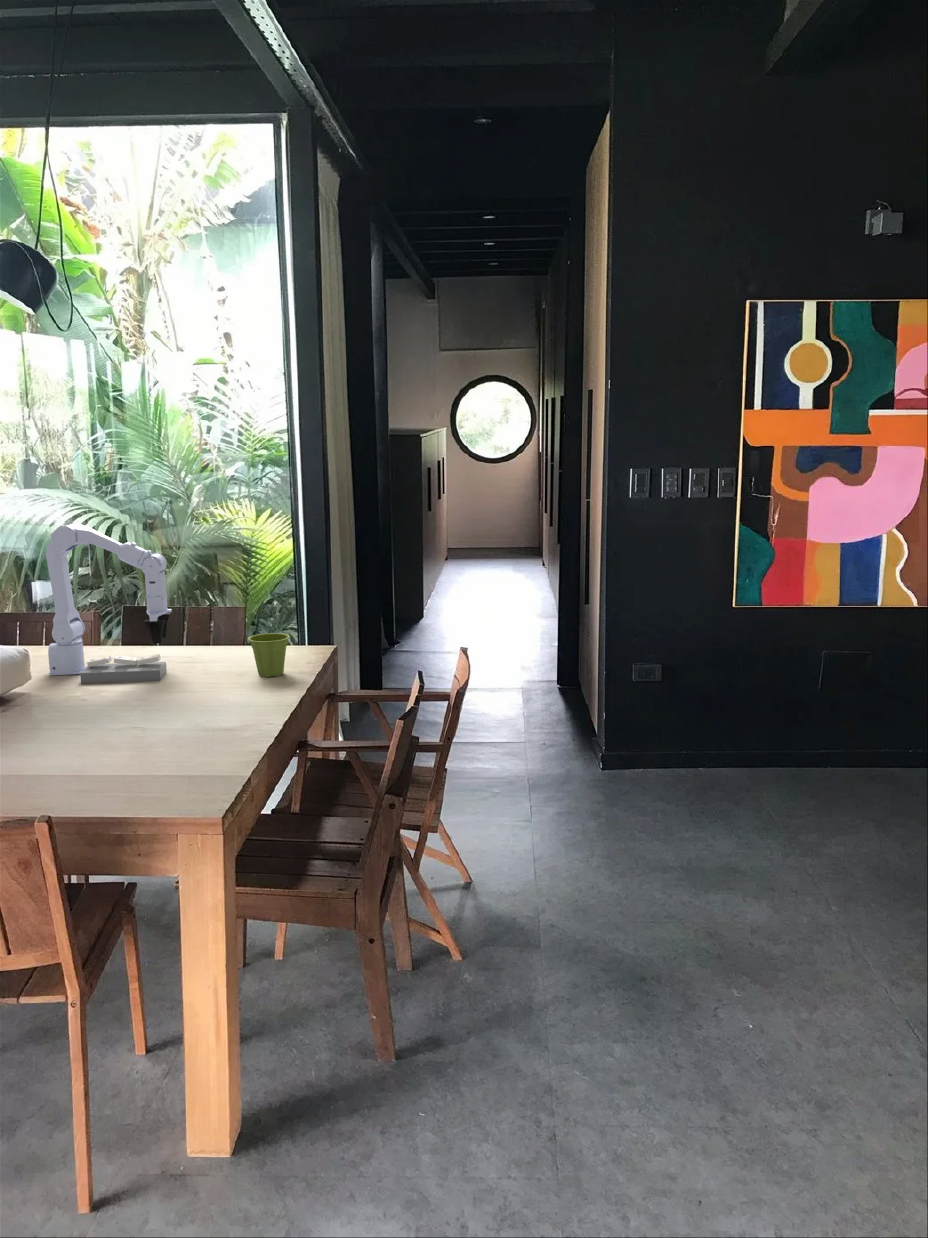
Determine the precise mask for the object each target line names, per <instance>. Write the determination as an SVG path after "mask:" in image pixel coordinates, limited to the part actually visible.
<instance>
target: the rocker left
mask: <svg viewBox="0 0 928 1238" xmlns="http://www.w3.org/2000/svg"><path fill="white" fill-rule="evenodd" d="M111 662H112V657H111V655H106V656H102V657H97V658H90V659H88V660H87V662H86V664H87V665H86V666H88V667H91V666H96V665H101V664H110V663H111Z"/></svg>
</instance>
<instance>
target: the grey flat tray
mask: <svg viewBox="0 0 928 1238" xmlns="http://www.w3.org/2000/svg"><path fill="white" fill-rule="evenodd" d="M86 666H87V667H86V668H85V669H84V670H83V671H82V672H81V673H80V674H79V675H80V683H81V684H96V683H97V684H98V683H122V682H123V683H124V682H127V683H128V682H142V681H143V682H148V681H151V682H152V681H154V682H155V681H162V679H163V678H164V676H165V675H166V674H167V672H168V671H167V661H158V662H152V663H147V664H142V665H138V663H137V664H136V665H128V664H119V663H107V664H101V665H96V666H91V667H88V665H86Z"/></svg>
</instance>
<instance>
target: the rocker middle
mask: <svg viewBox="0 0 928 1238" xmlns="http://www.w3.org/2000/svg"><path fill="white" fill-rule="evenodd" d="M138 659H139V658H138V657H135V656H134V657H133V656H127V655H125V656H124V655H116V656H115V657H114V658H113V664H118V663H119V664H128V665H136V664H137V660H138Z"/></svg>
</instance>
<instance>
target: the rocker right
mask: <svg viewBox="0 0 928 1238" xmlns="http://www.w3.org/2000/svg"><path fill="white" fill-rule="evenodd" d="M160 660H161V654H160V653H158V654H152V655H147V656H141V657H139V658H138V660H137V663H138V665H142V664H147V663H152V662H160Z"/></svg>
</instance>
